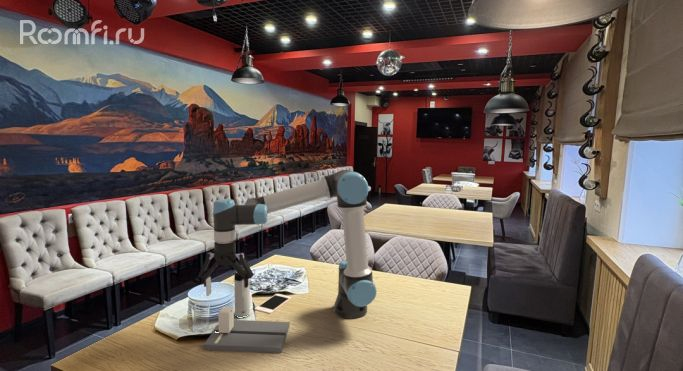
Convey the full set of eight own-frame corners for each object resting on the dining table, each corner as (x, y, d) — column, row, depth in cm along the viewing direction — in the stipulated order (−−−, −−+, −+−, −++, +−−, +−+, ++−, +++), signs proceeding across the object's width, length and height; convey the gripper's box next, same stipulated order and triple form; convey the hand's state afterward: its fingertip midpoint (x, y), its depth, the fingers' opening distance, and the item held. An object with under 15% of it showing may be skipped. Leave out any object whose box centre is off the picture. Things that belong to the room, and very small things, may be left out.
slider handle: (233, 330, 136) (233, 306, 135) (229, 337, 131) (229, 312, 130) (223, 330, 136) (223, 306, 135) (218, 337, 131) (218, 312, 130)
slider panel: (289, 326, 142) (289, 321, 142) (280, 352, 124) (280, 347, 124) (222, 324, 143) (222, 319, 143) (203, 349, 125) (203, 344, 125)
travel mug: (246, 319, 147) (245, 274, 145) (232, 317, 148) (231, 272, 146) (252, 312, 153) (252, 269, 151) (239, 310, 154) (238, 267, 152)
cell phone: (254, 310, 156) (254, 308, 156) (276, 295, 172) (276, 293, 172) (270, 314, 152) (270, 312, 152) (292, 298, 169) (292, 296, 169)
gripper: (260, 238, 133) (261, 291, 135) (196, 237, 133) (198, 290, 136) (255, 244, 125) (256, 300, 128) (187, 243, 126) (189, 298, 128)
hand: (226, 295), depth 132 cm, fingers open, 13 cm apart
